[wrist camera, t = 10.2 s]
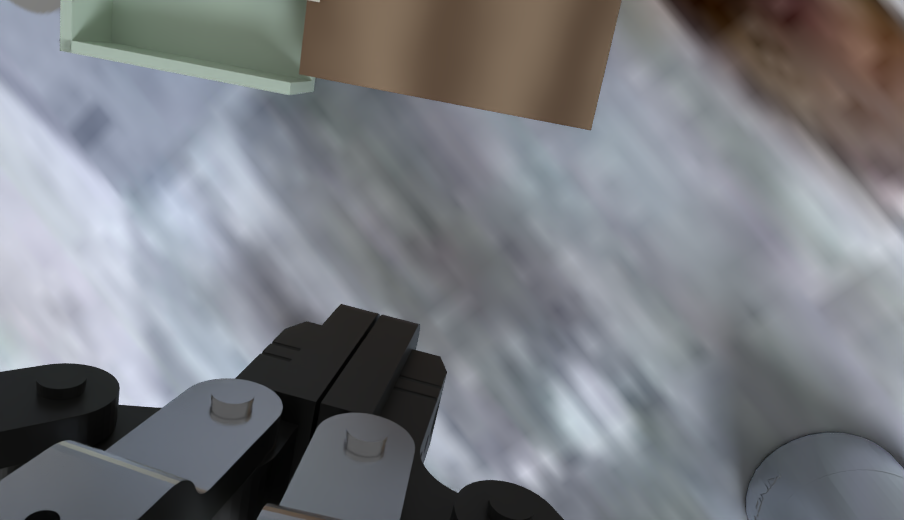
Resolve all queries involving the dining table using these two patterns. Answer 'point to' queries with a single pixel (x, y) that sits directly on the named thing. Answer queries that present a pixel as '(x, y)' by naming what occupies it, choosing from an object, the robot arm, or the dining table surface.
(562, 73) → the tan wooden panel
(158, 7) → the tray
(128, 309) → the dining table surface
